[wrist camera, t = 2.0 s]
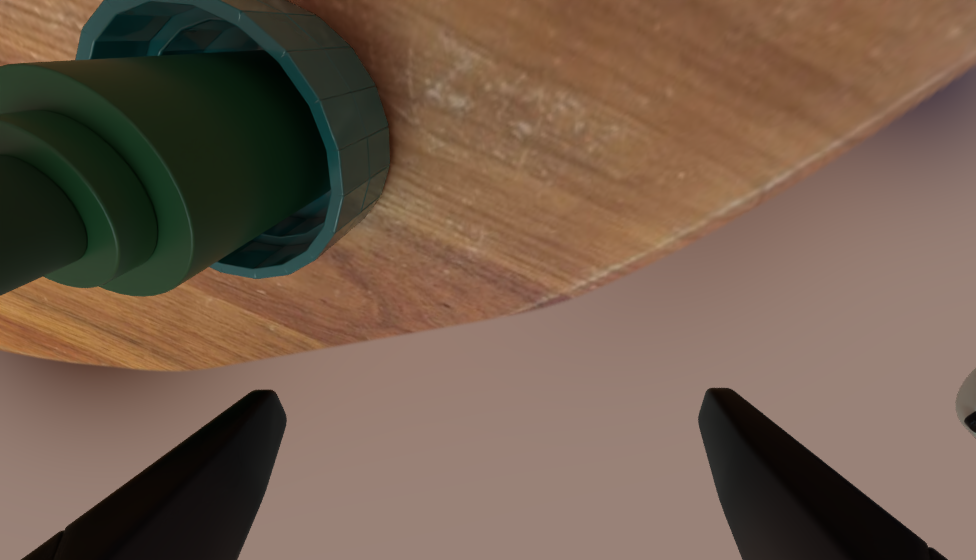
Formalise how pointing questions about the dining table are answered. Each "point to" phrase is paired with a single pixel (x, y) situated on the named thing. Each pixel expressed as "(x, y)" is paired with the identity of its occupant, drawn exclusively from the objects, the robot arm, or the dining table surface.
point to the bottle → (148, 166)
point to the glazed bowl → (315, 73)
